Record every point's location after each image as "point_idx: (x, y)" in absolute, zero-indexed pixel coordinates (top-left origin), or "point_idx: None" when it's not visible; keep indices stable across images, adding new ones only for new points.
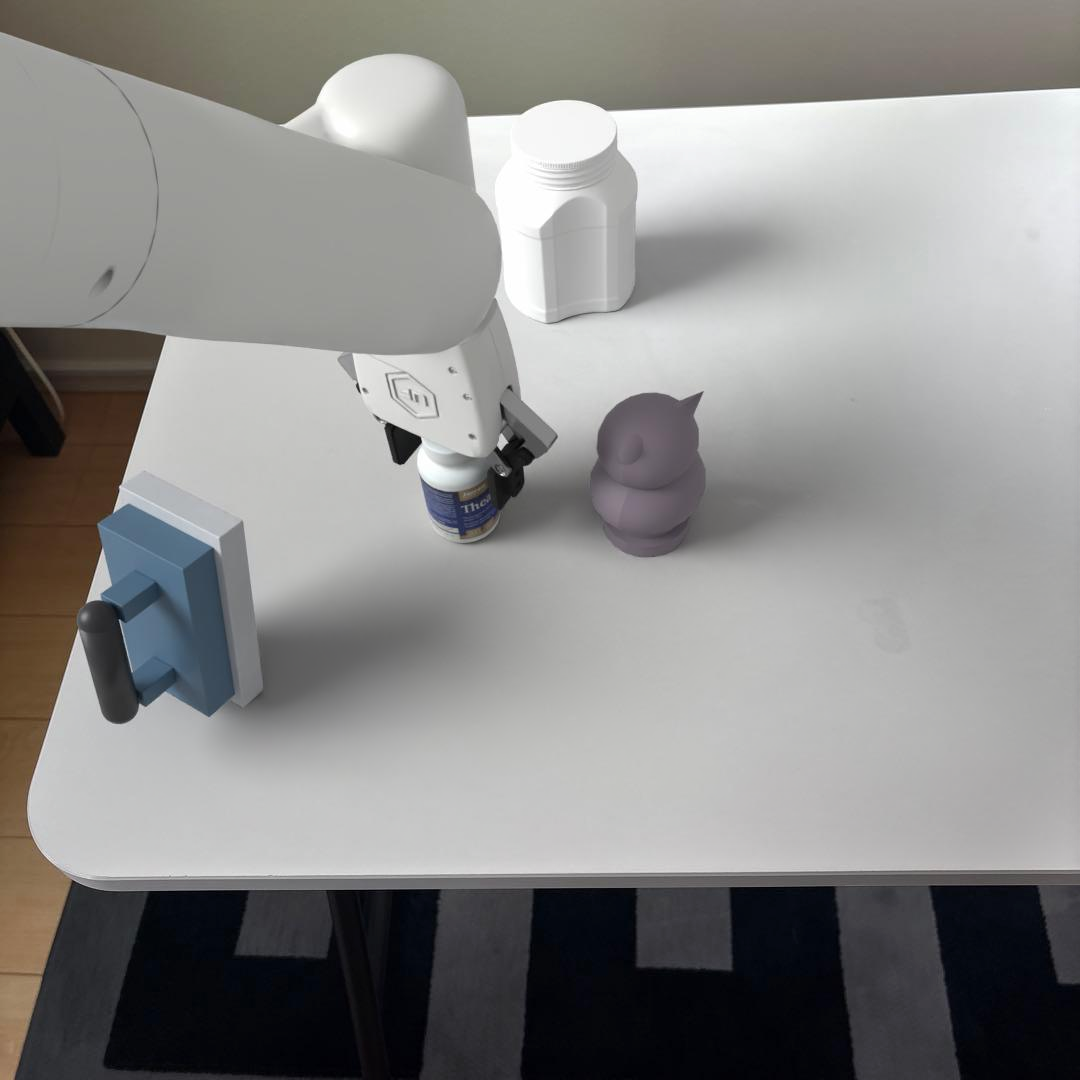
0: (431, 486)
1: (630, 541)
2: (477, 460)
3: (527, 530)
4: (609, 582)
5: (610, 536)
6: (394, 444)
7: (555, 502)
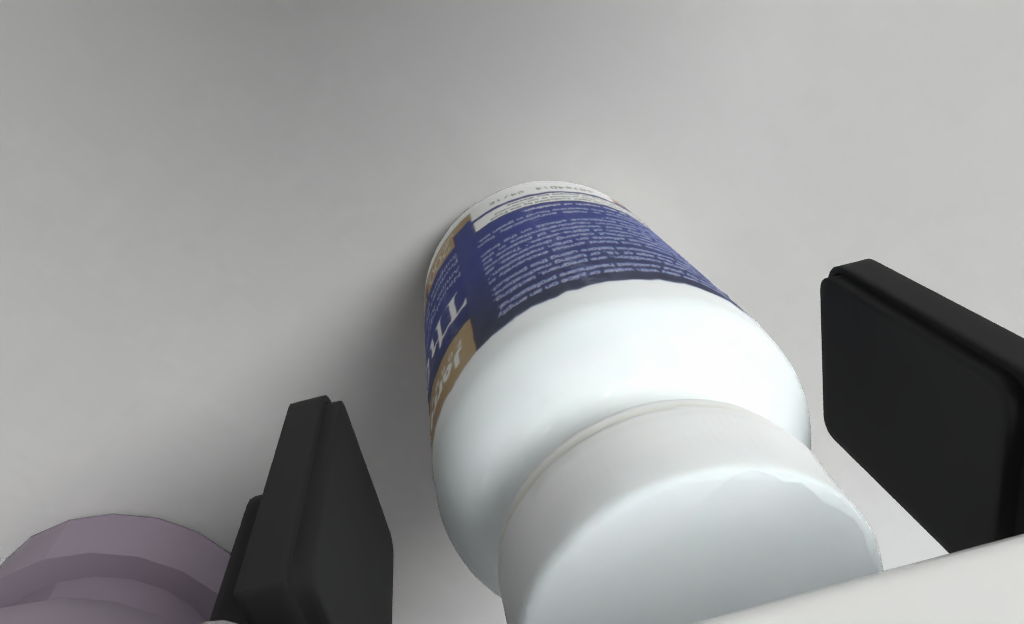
0: (607, 281)
1: (40, 569)
2: (498, 544)
3: (353, 382)
4: (8, 424)
5: (130, 533)
6: (935, 327)
7: None
